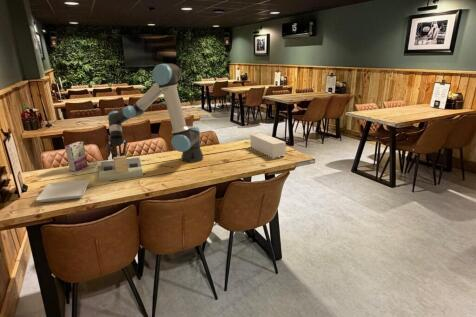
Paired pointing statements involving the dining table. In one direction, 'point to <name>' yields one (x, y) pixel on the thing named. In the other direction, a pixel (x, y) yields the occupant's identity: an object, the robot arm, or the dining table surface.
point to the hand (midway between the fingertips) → (119, 165)
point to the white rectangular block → (268, 145)
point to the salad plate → (63, 191)
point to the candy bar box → (76, 156)
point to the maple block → (121, 164)
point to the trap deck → (110, 174)
